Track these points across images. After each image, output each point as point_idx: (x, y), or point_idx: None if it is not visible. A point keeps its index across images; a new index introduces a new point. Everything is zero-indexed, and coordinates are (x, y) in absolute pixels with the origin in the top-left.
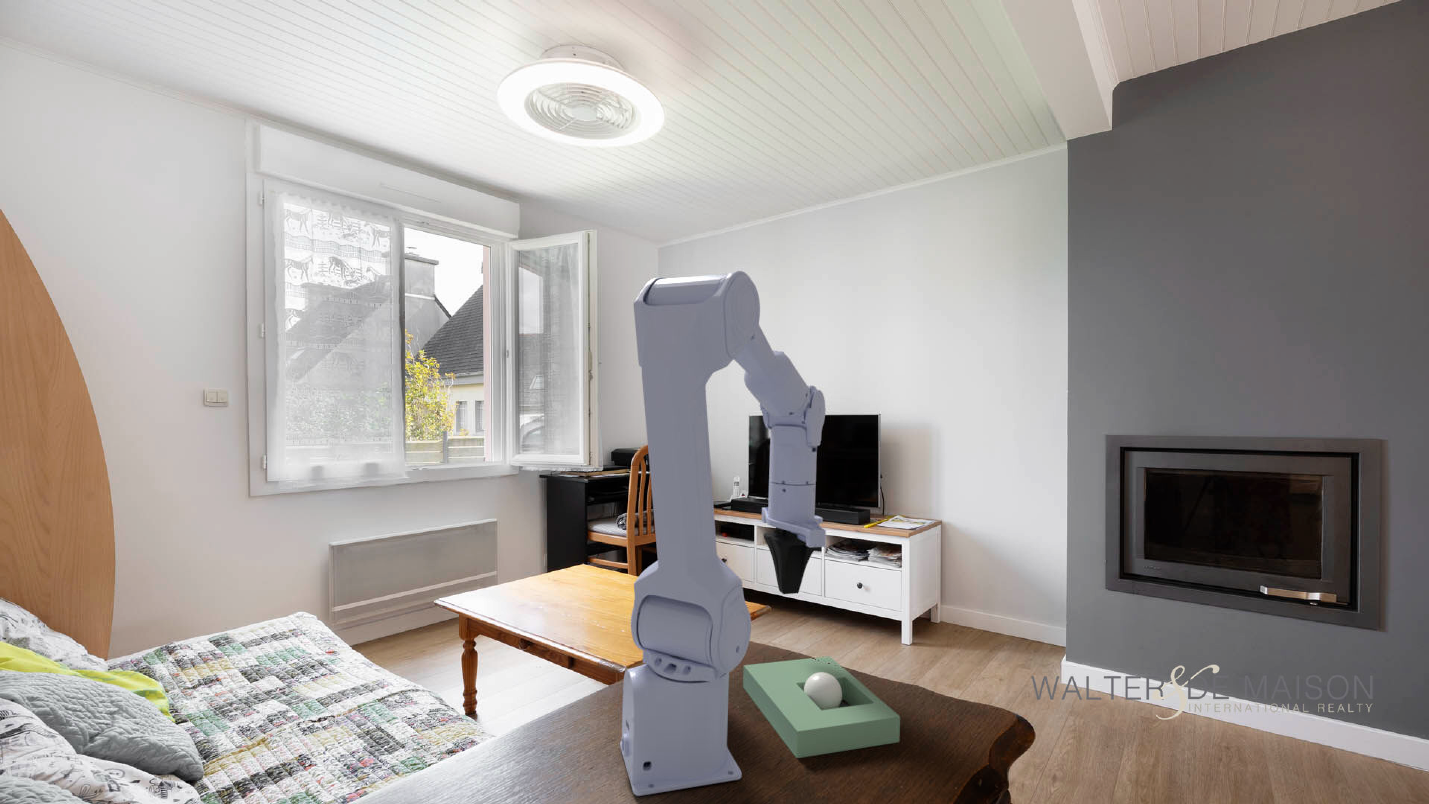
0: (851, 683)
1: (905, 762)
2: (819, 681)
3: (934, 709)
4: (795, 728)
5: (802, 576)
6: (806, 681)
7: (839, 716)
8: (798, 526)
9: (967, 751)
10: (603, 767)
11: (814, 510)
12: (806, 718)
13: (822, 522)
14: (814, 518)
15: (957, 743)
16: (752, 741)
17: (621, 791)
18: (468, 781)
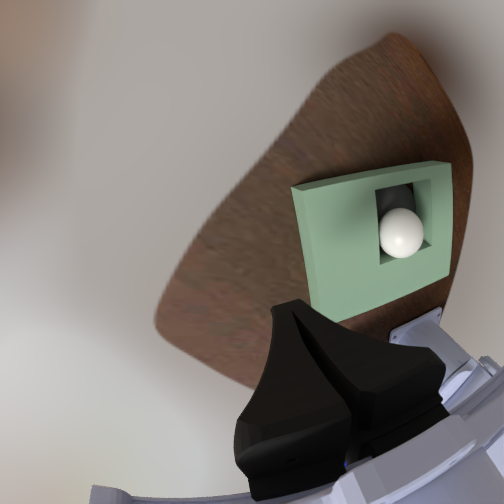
0: (388, 186)
1: (451, 171)
2: (419, 246)
3: (379, 79)
4: (445, 276)
5: (324, 316)
6: (400, 257)
7: (442, 229)
8: (497, 439)
9: (442, 104)
10: None
11: (496, 490)
12: (438, 263)
13: (458, 418)
14: (448, 470)
15: (433, 103)
16: (407, 299)
17: None
18: None
